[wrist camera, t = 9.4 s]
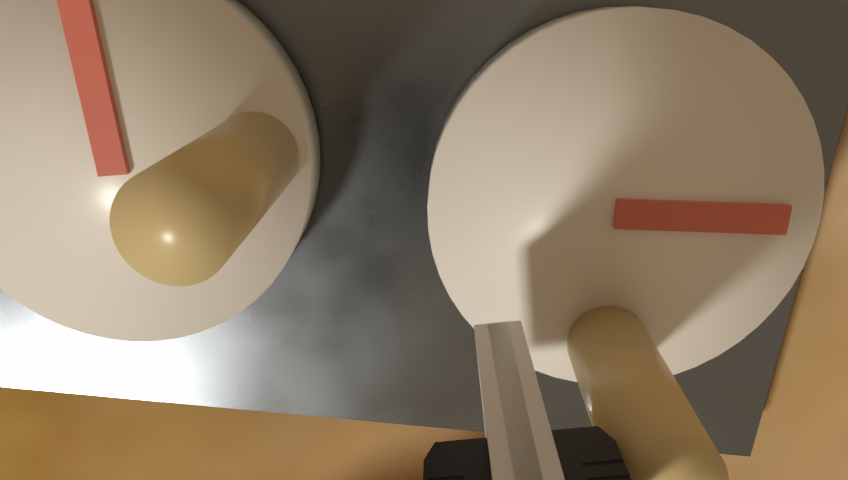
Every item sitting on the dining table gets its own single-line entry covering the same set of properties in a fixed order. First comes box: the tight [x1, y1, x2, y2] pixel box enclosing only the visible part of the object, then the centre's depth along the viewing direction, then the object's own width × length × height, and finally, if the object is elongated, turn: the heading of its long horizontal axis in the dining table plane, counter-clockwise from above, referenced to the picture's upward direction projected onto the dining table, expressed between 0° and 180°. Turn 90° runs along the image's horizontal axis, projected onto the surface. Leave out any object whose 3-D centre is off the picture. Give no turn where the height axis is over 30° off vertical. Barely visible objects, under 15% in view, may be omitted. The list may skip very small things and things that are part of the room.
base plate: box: [0, 0, 848, 456], centre depth 19 cm, size 35×15×2 cm, turn 85°
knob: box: [427, 6, 824, 480], centre depth 15 cm, size 9×9×7 cm
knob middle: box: [0, 0, 321, 341], centre depth 15 cm, size 9×9×7 cm
